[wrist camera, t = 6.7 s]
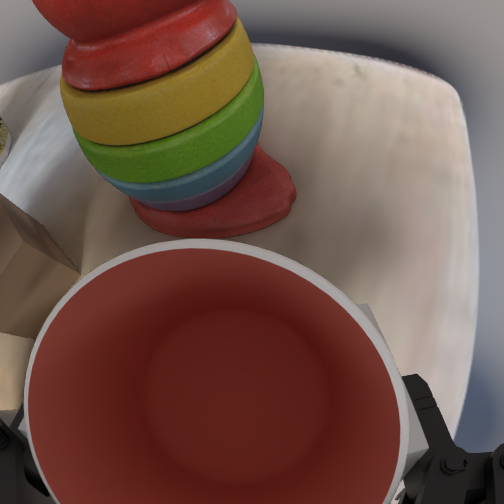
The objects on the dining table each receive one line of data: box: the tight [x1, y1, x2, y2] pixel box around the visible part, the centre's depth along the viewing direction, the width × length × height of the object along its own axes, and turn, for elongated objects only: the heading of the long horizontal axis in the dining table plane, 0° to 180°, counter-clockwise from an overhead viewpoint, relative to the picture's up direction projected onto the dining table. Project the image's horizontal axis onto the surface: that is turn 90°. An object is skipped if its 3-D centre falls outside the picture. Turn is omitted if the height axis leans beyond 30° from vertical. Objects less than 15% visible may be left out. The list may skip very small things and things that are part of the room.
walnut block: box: [0, 193, 81, 339], centre depth 15 cm, size 6×6×6 cm
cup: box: [24, 239, 409, 504], centre depth 10 cm, size 10×10×10 cm
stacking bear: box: [32, 0, 296, 239], centre depth 11 cm, size 11×10×18 cm
